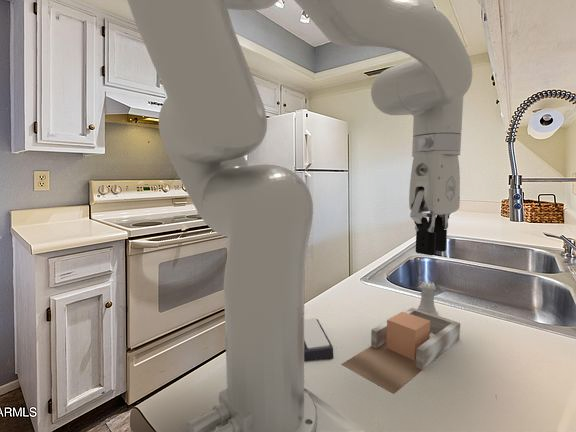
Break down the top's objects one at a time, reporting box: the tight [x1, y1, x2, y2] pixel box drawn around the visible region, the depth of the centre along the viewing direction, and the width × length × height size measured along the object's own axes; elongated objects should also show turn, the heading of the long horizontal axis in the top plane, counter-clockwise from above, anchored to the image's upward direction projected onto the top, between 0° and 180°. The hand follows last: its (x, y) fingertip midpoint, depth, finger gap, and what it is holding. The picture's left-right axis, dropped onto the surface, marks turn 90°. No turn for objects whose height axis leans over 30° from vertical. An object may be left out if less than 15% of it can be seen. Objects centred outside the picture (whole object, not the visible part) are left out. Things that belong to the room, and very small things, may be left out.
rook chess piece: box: [416, 280, 438, 316], centre depth 67 cm, size 4×4×8 cm
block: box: [386, 311, 431, 360], centre depth 53 cm, size 5×5×5 cm
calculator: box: [304, 317, 334, 362], centre depth 55 cm, size 11×4×15 cm
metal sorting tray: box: [340, 307, 461, 395], centre depth 52 cm, size 22×9×4 cm, turn 131°
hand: (430, 251), depth 56 cm, fingers open, 3 cm apart
